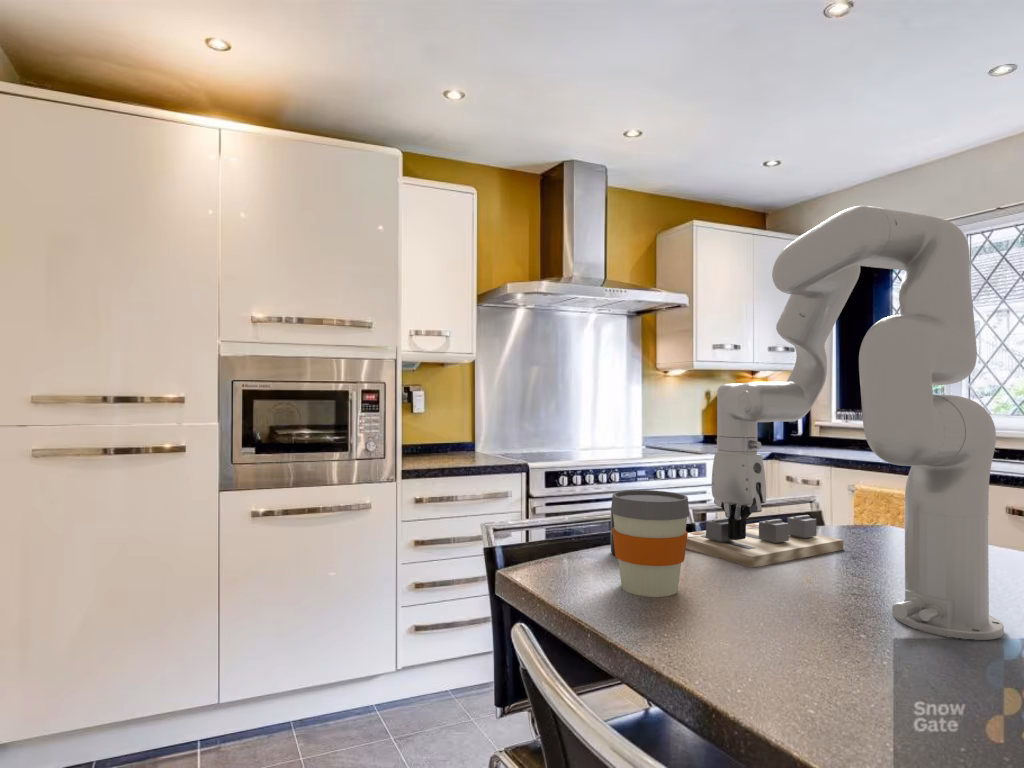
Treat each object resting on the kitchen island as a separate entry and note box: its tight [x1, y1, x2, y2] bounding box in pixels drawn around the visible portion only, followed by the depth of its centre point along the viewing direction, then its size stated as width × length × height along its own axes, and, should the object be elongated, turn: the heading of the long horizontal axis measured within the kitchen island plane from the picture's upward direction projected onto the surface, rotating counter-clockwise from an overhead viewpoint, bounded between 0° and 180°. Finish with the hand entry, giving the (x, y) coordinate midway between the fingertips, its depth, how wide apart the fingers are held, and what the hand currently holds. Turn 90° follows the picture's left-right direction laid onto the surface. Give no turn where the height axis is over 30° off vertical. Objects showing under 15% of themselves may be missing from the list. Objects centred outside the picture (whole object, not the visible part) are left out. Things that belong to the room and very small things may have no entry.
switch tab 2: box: [758, 518, 789, 543], centre depth 126 cm, size 4×4×4 cm
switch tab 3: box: [786, 514, 817, 538], centre depth 130 cm, size 4×4×4 cm
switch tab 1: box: [705, 517, 733, 542], centre depth 126 cm, size 4×4×4 cm
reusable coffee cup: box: [610, 489, 690, 598], centre depth 101 cm, size 13×13×15 cm
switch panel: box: [686, 522, 844, 569], centre depth 129 cm, size 28×20×2 cm
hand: (736, 538), depth 123 cm, fingers closed
